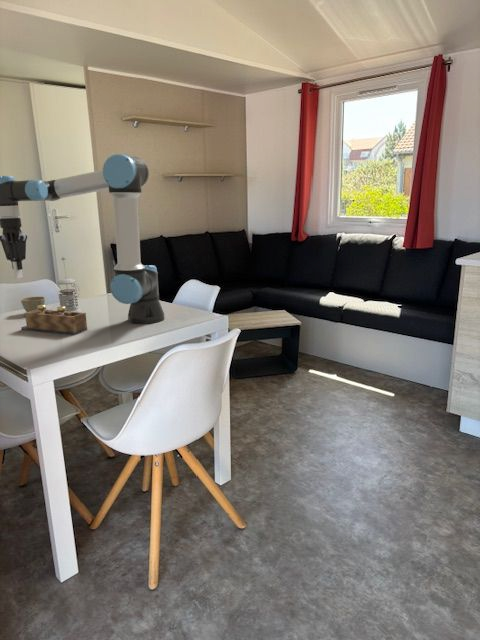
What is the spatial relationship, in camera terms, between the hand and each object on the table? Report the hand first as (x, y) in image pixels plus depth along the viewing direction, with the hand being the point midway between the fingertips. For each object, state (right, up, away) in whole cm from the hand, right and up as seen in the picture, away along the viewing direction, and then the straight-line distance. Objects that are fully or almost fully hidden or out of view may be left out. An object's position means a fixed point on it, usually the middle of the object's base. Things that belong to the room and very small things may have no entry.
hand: (19, 277), depth 187 cm
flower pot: (-5, -14, +26) cm, 30 cm away
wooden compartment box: (+16, -20, -3) cm, 26 cm away
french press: (+10, -13, +30) cm, 34 cm away
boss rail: (+15, -21, -2) cm, 26 cm away
